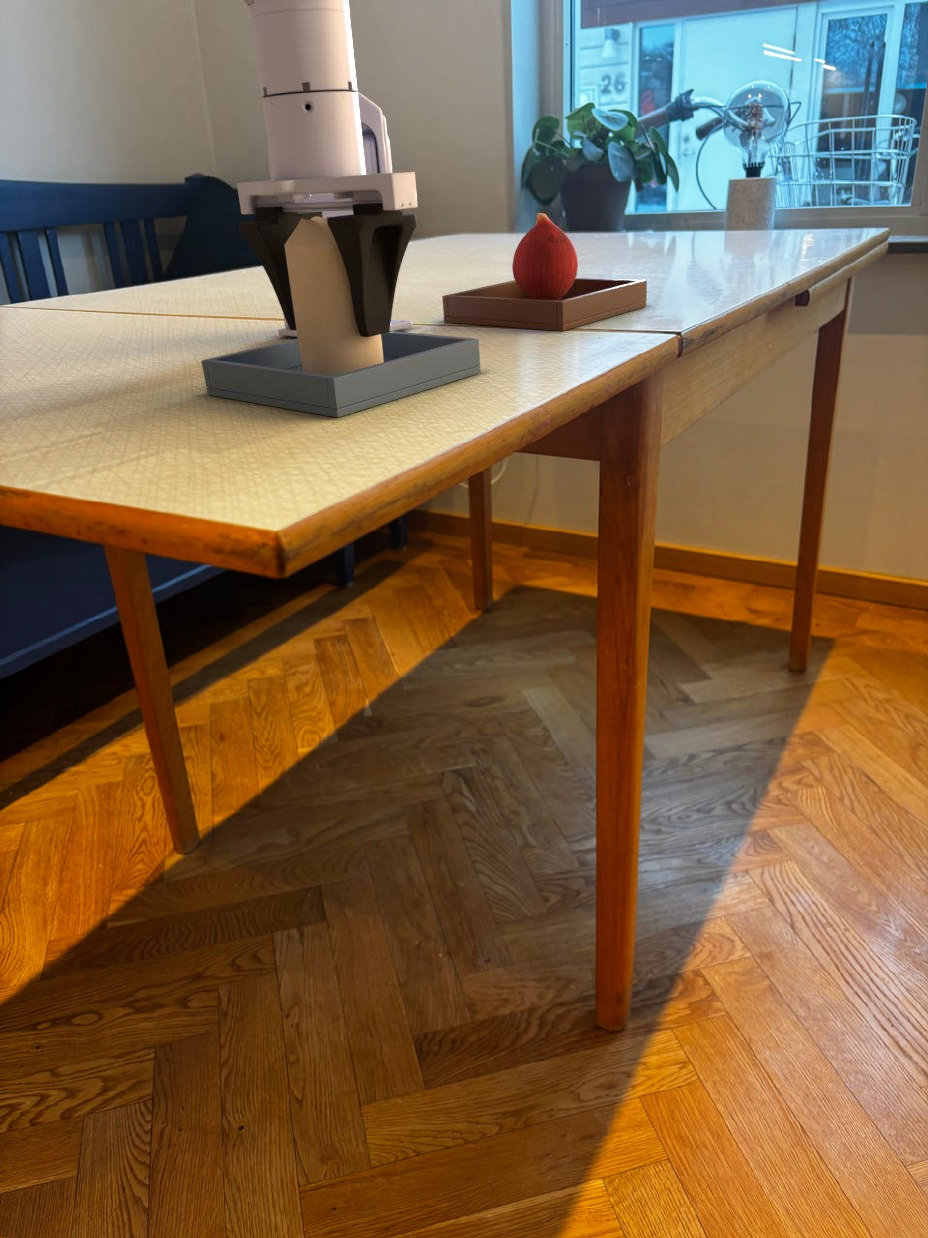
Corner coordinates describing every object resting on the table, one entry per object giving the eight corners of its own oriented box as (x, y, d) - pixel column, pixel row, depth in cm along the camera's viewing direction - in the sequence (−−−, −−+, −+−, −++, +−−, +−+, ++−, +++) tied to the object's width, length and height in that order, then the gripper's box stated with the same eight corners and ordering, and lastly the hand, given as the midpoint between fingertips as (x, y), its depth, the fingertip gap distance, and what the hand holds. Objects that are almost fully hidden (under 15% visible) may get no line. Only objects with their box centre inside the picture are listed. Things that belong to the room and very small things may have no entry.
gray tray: (207, 394, 62) (200, 360, 61) (350, 357, 71) (346, 326, 70) (337, 417, 54) (333, 378, 53) (481, 372, 63) (479, 338, 62)
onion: (577, 302, 85) (577, 208, 82) (578, 311, 80) (578, 212, 77) (515, 305, 86) (512, 212, 82) (512, 315, 81) (508, 216, 77)
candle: (319, 389, 59) (296, 220, 54) (293, 376, 63) (269, 218, 59) (397, 376, 61) (382, 212, 56) (366, 363, 65) (349, 211, 61)
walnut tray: (443, 322, 83) (441, 295, 82) (531, 300, 92) (530, 276, 91) (562, 331, 75) (562, 301, 74) (646, 306, 84) (647, 279, 83)
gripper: (183, 107, 56) (223, 334, 62) (342, 82, 48) (370, 349, 54) (273, 105, 61) (303, 317, 67) (433, 83, 52) (450, 329, 58)
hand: (338, 330), depth 61 cm, fingers open, 6 cm apart
